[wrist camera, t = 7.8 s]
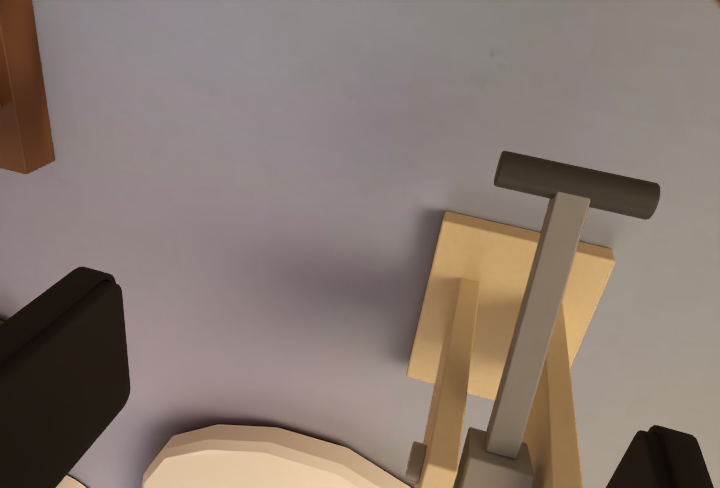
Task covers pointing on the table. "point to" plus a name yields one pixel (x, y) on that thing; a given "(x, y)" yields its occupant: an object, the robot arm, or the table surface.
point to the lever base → (497, 345)
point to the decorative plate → (260, 461)
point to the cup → (69, 483)
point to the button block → (22, 92)
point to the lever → (541, 304)
